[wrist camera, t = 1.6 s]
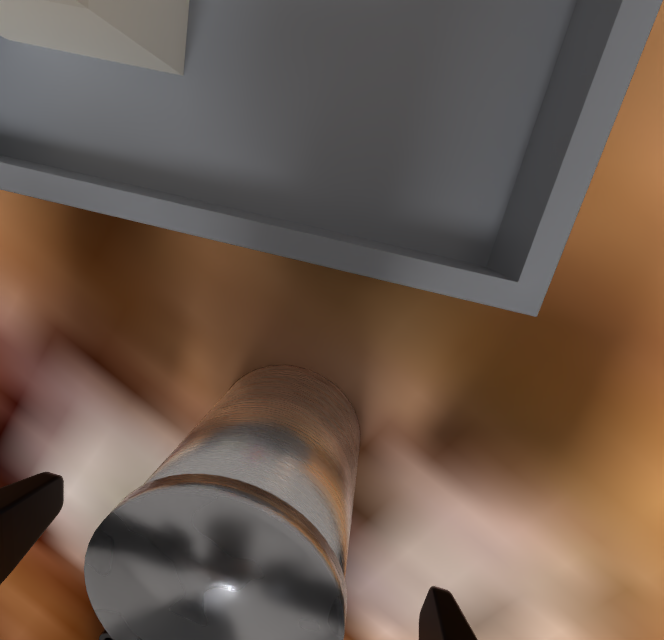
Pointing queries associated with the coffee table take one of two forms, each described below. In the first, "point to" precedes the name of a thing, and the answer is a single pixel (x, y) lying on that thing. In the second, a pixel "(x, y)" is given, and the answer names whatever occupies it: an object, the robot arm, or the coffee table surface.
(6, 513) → the robot arm
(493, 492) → the coffee table surface
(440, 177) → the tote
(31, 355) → the coffee table surface
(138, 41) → the beige rectangular block
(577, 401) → the coffee table surface
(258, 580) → the steel tin
